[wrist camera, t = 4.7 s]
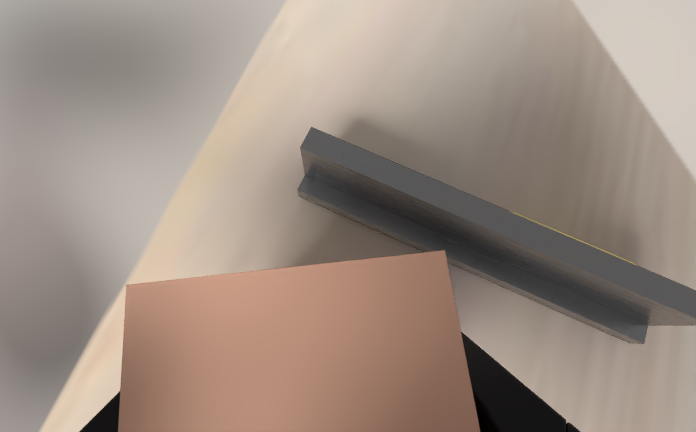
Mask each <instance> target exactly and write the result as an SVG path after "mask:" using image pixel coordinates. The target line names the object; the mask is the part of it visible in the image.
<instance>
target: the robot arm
mask: <svg viewBox="0 0 696 432" xmlns="http://www.w3.org/2000/svg"><path fill="white" fill-rule="evenodd" d="M461 335H462V340H463V346H464V351H465V356H466V361H467V366H468V371H469V376H470V381H471V387H472V392H473V397H474V402H475V407H476V412H477V417H478V422H479V427H480V432H580V431H579V430H578V429H576V428H575V427H574V426H573V425H572V424H570V423H567V424H566V420H565V419H564V418H563V417H562V416H561V415H560V414H558V413H557V412H556V411H555V410H554V409H552V408H551V407H550V406H549V405H548V404H546V403H545V402H544V401H543V400H542V399H541V398H539V397H538V396H537V395H536V394H535V393H533V392H532V391H531V390H530V389H529V388H527V387H526V386H525V385H524V384H523V383H522V382H520V381H519V380H518V379H517V378H516V377H514V376H513V375H512V374H511V373H510V372H508V371H507V370H506V369H505V368H504V367H503V366H501V365H500V364H499V363H498V362H497V361H495V360H494V359H493V358H492V357H491V356H489V355H488V354H487V353H486V352H485V351H484V350H482V349H481V348H480V347H479V346H478V345H476V344H475V343H474V342H473V341H472V340H470V339H469V338H468V337H467V336H466V335H464V334H463V333H462V332H461ZM119 406H120V392H119V393H118V394H117V395H116V396H115V397H114V398H113V399H112V400H111V401H110V402H109V403H108V404H107V405H106V406H105V407H104V408H103V409H102V410H101V411H100V412H99V413H98V414H97V415H96V416H95V417H94V418H93V419H92V420H91V421H90V422H89V423H88V424H87V425H86V426H85V427H84V428H83V429H82V430H81V431H80V432H118V424H119Z"/></svg>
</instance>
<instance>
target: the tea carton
mask: <svg viewBox="0 0 696 432" xmlns="http://www.w3.org/2000/svg"><path fill="white" fill-rule="evenodd" d="M118 432H480V427H479V422H478V417H477V412H476V407H475V402H474V397H473V392H472V387H471V381H470V376H469V371H468V366H467V361H466V356H465V351H464V346H463V340H462V335H461V330H460V325H459V320H458V315H457V310H456V305H455V299H454V294H453V289H452V284H451V279H450V274H449V269H448V264H447V259H446V253H445V250H442V251H433V252H424V253H415V254H405V255H396V256H387V257H378V258H369V259H360V260H351V261H341V262H332V263H323V264H314V265H305V266H296V267H286V268H277V269H268V270H259V271H250V272H241V273H231V274H222V275H213V276H204V277H195V278H186V279H176V280H167V281H158V282H149V283H140V284H131V285H126V302H125V319H124V337H123V354H122V371H121V389H120V406H119V424H118Z"/></svg>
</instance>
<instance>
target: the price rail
mask: <svg viewBox="0 0 696 432" xmlns="http://www.w3.org/2000/svg"><path fill="white" fill-rule="evenodd" d="M300 150H301V155H302V160H303V166H304V171H305V177H304V179H303V181H302V182H301V184H300V186H299V188H298V194H299V196H300V197H302V198H305V199H307V200H309V201H311V202H314V203H316V204H318V205H320V206H323V207H325V208H327V209H329V210H331V211H334V212H336V213H338V214H340V215H343V216H345V217H347V218H349V219H352V220H354V221H356V222H358V223H361V224H363V225H365V226H367V227H370V228H372V229H374V230H376V231H379V232H381V233H383V234H385V235H388V236H390V237H392V238H394V239H397V240H399V241H401V242H403V243H406V244H408V245H410V246H412V247H415V248H417V249H419V250H421V251H424V252H433V251H442V250H445V253H446V259H447V262H448V263H451V264H453V265H455V266H457V267H460V268H462V269H464V270H466V271H469V272H471V273H473V274H475V275H478V276H480V277H482V278H484V279H486V280H489V281H491V282H493V283H495V284H498V285H500V286H502V287H504V288H507V289H509V290H511V291H513V292H516V293H518V294H520V295H522V296H525V297H527V298H529V299H531V300H534V301H536V302H538V303H540V304H543V305H545V306H547V307H549V308H552V309H554V310H556V311H558V312H561V313H563V314H565V315H567V316H570V317H572V318H574V319H576V320H579V321H581V322H583V323H585V324H588V325H590V326H592V327H594V328H597V329H599V330H601V331H603V332H606V333H608V334H610V335H612V336H615V337H617V338H619V339H621V340H624V341H626V342H628V343H637V344H644V342H645V337H646V332H647V327H648V326H656V325H696V290H693V289H691V288H689V287H686V286H684V285H682V284H679V283H677V282H675V281H672V280H670V279H668V278H665V277H663V276H661V275H658V274H656V273H653V272H651V271H649V270H646V269H644V268H642V267H639V266H637V264H635V263H633V262H631V261H628V260H626V259H623V258H621V257H619V256H616V255H614V254H612V253H609V252H607V251H605V250H602V249H600V248H598V247H595V246H593V245H591V244H588V243H586V242H583V241H581V240H579V239H576V238H574V237H572V236H569V235H567V234H565V233H562V232H560V231H558V230H555V229H553V228H550V227H548V226H546V225H543V224H541V223H539V222H536V221H534V220H532V219H529V218H527V217H525V216H522V215H520V214H518V213H515V212H513V211H511V212H510V211H508V210H505V209H503V208H501V207H498V206H496V205H494V204H491V203H489V202H487V201H484V200H482V199H479V198H477V197H475V196H472V195H470V194H468V193H465V192H463V191H461V190H458V189H456V188H454V187H451V186H449V185H447V184H444V183H442V182H439V181H437V180H435V179H432V178H430V177H428V176H425V175H423V174H421V173H418V172H416V171H414V170H411V169H409V168H407V167H404V166H402V165H400V164H397V163H395V162H392V161H390V160H388V159H385V158H383V157H381V156H378V155H376V154H374V153H371V152H369V151H367V150H364V149H362V148H360V147H357V146H355V145H352V144H350V143H348V142H345V141H343V140H341V139H338V138H336V137H334V136H331V135H329V134H327V133H324V132H322V131H320V130H317V129H315V128H313V127H311V129H310V131H309V132H308V134H307V136H306V138H305V140H304V142H303V143H302V145H301V147H300Z"/></svg>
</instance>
